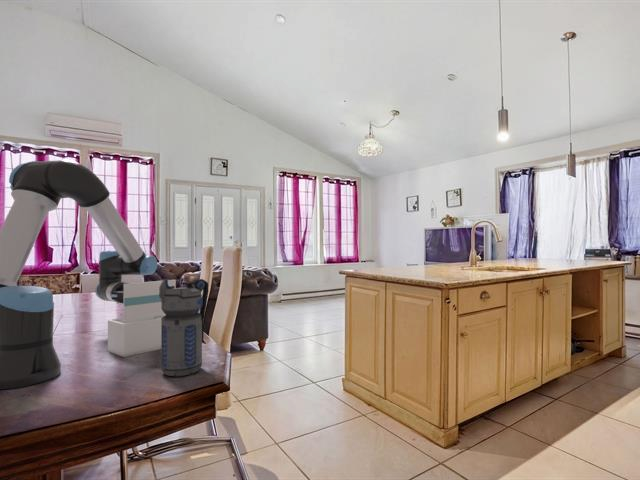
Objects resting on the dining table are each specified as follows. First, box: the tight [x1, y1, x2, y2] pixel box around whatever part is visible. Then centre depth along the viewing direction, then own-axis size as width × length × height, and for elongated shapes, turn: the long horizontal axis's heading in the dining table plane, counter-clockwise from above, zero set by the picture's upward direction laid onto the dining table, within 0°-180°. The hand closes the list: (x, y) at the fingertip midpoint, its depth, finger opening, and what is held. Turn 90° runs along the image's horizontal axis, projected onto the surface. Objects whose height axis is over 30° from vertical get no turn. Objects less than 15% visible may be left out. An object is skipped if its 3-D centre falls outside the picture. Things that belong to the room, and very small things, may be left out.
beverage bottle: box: [159, 278, 209, 377], centre depth 97 cm, size 10×13×25 cm
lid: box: [122, 279, 177, 321], centre depth 116 cm, size 11×17×1 cm
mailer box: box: [107, 315, 165, 358], centre depth 120 cm, size 12×16×10 cm
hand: (152, 297), depth 118 cm, fingers closed
